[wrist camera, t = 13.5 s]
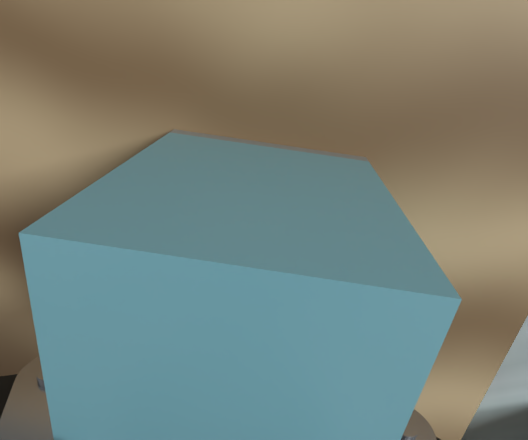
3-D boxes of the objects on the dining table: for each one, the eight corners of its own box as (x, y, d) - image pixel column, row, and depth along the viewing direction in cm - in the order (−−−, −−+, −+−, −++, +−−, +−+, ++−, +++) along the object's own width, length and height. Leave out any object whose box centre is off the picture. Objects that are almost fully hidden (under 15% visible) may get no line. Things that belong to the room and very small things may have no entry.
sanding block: (174, 129, 10) (17, 232, 4) (366, 157, 10) (461, 298, 4) (167, 398, 14) (85, 623, 8) (300, 418, 14) (304, 659, 8)
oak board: (-176, -150, 9) (-259, -185, 8) (658, -41, 9) (726, -57, 7) (-16, 413, 17) (-42, 444, 16) (409, 479, 17) (419, 516, 16)
